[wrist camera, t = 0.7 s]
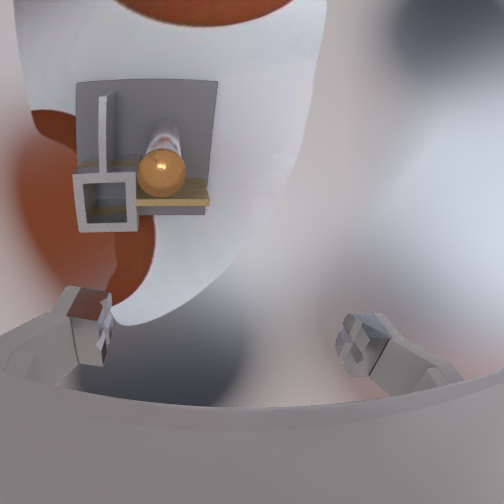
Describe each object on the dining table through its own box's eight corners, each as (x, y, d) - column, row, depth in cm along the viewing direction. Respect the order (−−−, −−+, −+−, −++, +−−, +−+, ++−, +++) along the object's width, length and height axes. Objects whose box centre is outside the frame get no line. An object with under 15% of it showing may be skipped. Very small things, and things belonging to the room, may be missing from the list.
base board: (78, 82, 36) (76, 83, 35) (217, 81, 41) (218, 81, 40) (84, 213, 48) (82, 216, 47) (204, 211, 53) (204, 214, 52)
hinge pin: (151, 116, 41) (137, 151, 26) (182, 117, 42) (187, 151, 27) (149, 146, 43) (137, 197, 28) (179, 146, 45) (184, 197, 30)
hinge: (86, 92, 36) (69, 99, 30) (212, 91, 41) (220, 97, 35) (90, 207, 46) (79, 232, 40) (201, 206, 51) (207, 230, 45)
